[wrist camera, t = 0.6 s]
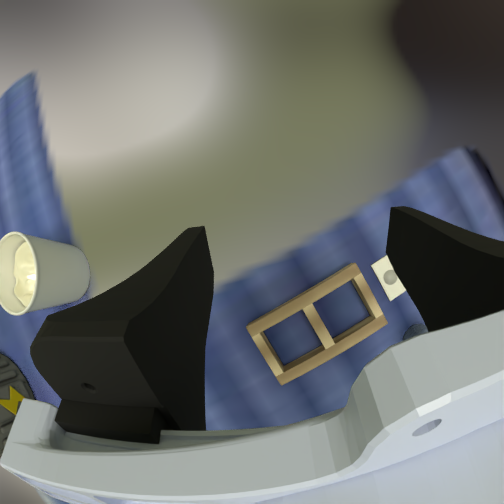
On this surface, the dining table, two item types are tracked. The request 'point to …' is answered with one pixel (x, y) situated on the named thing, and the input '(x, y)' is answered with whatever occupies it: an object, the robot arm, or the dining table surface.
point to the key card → (388, 278)
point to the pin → (415, 331)
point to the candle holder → (40, 273)
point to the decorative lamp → (10, 396)
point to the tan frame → (318, 325)
